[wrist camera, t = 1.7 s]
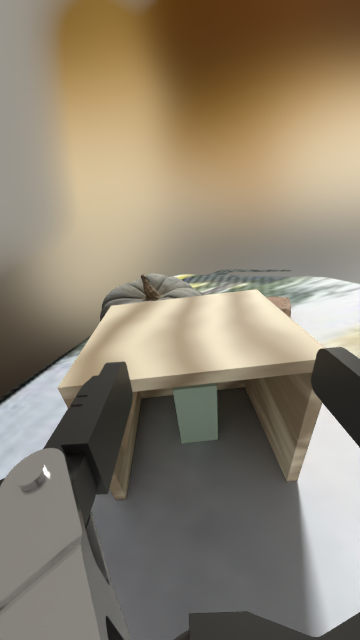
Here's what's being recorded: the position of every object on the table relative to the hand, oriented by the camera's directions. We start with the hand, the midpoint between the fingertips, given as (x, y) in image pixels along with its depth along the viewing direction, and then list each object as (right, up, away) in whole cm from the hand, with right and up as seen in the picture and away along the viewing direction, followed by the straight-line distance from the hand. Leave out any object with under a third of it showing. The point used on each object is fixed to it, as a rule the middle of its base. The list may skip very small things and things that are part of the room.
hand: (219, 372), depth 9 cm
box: (+1, -14, +20) cm, 24 cm away
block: (+1, -13, +21) cm, 25 cm away
